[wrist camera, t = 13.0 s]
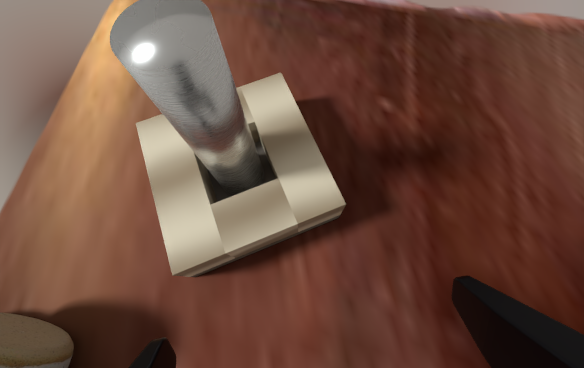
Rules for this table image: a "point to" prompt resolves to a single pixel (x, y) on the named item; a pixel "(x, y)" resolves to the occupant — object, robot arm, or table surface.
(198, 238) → the socket block
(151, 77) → the steel pin
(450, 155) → the table surface
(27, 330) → the ceramic mug
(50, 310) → the table surface
